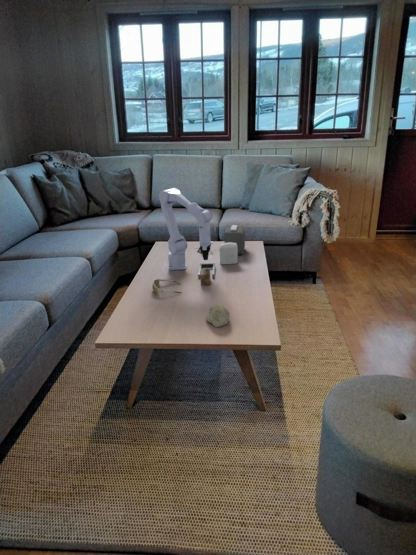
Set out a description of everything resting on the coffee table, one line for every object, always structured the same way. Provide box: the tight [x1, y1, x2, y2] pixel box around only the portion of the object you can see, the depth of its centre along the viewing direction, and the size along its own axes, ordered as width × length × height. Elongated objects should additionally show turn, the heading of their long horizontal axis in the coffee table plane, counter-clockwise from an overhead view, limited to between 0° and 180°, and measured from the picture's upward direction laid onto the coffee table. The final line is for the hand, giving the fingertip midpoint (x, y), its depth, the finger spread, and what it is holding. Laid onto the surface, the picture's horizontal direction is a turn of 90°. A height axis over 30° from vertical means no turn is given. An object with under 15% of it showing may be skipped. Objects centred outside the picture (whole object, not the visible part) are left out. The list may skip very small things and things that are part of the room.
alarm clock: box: [223, 224, 246, 256], centre depth 253 cm, size 16×11×16 cm
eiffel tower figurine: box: [193, 246, 214, 256], centre depth 256 cm, size 15×10×13 cm
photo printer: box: [219, 242, 239, 265], centre depth 235 cm, size 10×4×12 cm, turn 98°
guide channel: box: [197, 262, 216, 279], centre depth 226 cm, size 8×16×2 cm, turn 177°
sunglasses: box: [151, 278, 183, 296], centre depth 207 cm, size 14×15×5 cm
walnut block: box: [200, 269, 211, 287], centre depth 213 cm, size 4×8×6 cm, turn 178°
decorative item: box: [205, 304, 231, 328], centre depth 175 cm, size 12×9×10 cm
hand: (205, 258), depth 219 cm, fingers open, 3 cm apart
